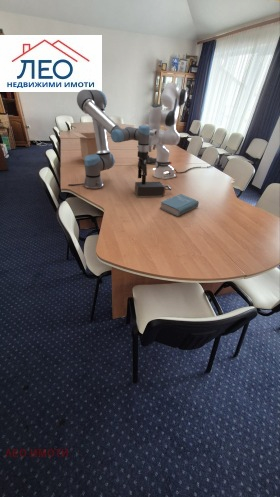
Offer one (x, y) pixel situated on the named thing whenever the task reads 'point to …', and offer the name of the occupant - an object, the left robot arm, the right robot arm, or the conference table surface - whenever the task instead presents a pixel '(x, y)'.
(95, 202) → the conference table surface
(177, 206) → the book
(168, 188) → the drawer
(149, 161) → the laser sight
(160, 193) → the dark boxy piece
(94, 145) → the box
